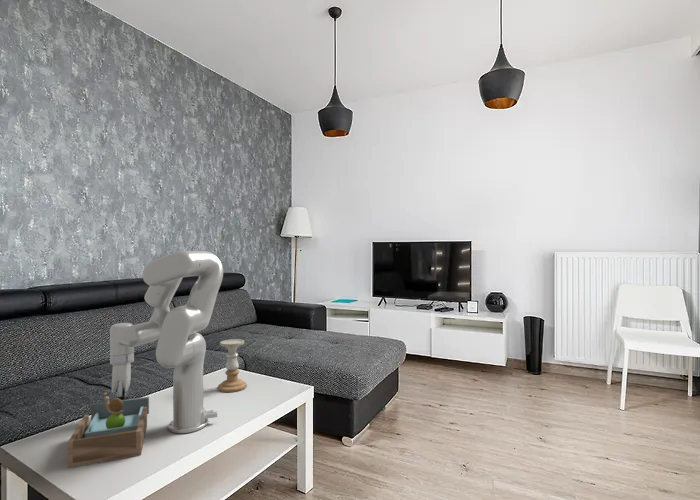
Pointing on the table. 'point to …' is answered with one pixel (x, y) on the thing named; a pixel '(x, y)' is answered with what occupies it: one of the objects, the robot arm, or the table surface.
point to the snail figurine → (114, 413)
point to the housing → (105, 444)
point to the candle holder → (232, 368)
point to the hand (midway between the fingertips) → (122, 409)
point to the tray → (101, 414)
